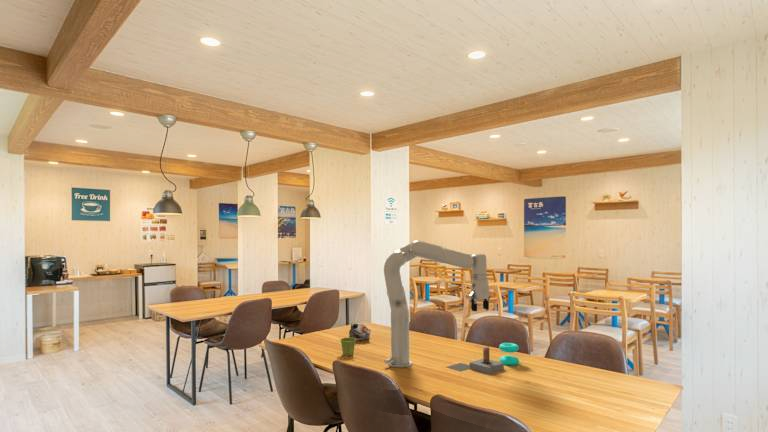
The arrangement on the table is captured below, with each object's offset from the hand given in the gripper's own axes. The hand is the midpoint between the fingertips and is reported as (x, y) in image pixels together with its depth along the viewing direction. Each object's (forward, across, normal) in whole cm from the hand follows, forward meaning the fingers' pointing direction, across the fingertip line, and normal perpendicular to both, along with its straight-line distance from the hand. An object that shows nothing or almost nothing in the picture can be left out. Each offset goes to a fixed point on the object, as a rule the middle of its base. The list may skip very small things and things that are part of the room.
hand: (480, 309), depth 233 cm
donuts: (+29, +12, -9) cm, 32 cm away
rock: (+29, -13, +89) cm, 95 cm away
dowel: (+28, -6, -8) cm, 30 cm away
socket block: (+28, -6, -8) cm, 30 cm away
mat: (+28, -13, +3) cm, 31 cm away
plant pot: (+28, -41, +63) cm, 80 cm away
